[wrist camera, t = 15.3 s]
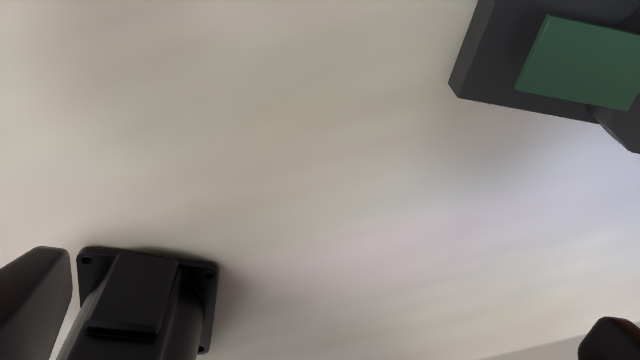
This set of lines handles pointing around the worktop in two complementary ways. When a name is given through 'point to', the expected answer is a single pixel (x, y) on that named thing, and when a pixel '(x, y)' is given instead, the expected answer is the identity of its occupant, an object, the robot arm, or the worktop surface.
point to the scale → (513, 49)
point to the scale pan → (583, 63)
